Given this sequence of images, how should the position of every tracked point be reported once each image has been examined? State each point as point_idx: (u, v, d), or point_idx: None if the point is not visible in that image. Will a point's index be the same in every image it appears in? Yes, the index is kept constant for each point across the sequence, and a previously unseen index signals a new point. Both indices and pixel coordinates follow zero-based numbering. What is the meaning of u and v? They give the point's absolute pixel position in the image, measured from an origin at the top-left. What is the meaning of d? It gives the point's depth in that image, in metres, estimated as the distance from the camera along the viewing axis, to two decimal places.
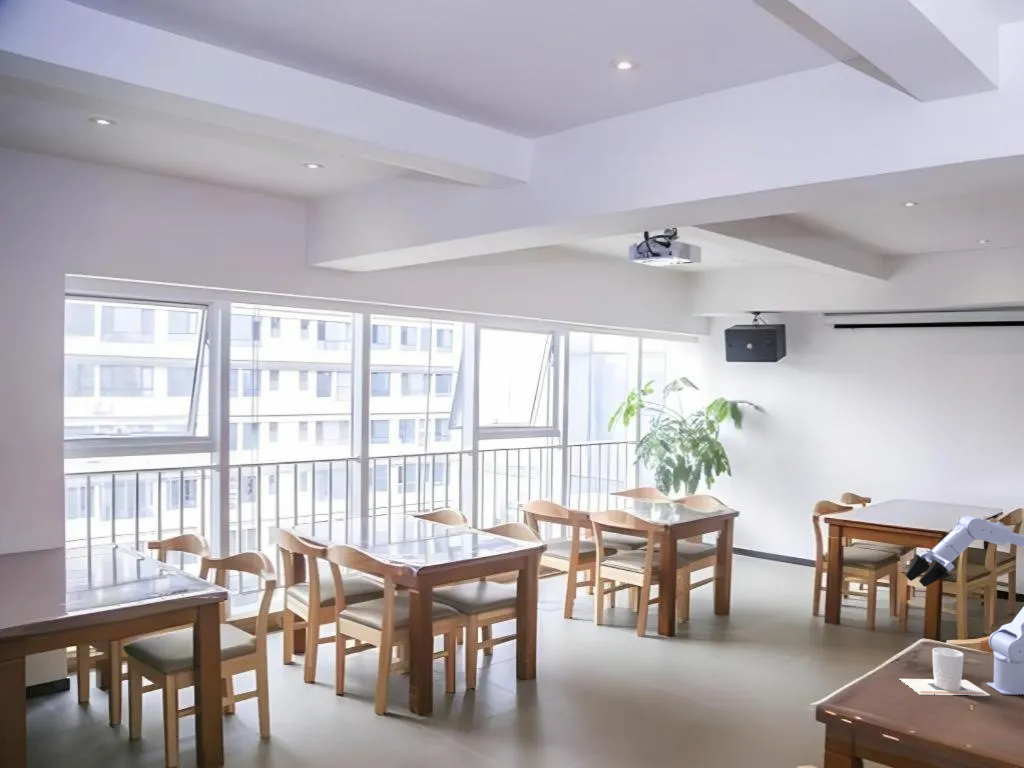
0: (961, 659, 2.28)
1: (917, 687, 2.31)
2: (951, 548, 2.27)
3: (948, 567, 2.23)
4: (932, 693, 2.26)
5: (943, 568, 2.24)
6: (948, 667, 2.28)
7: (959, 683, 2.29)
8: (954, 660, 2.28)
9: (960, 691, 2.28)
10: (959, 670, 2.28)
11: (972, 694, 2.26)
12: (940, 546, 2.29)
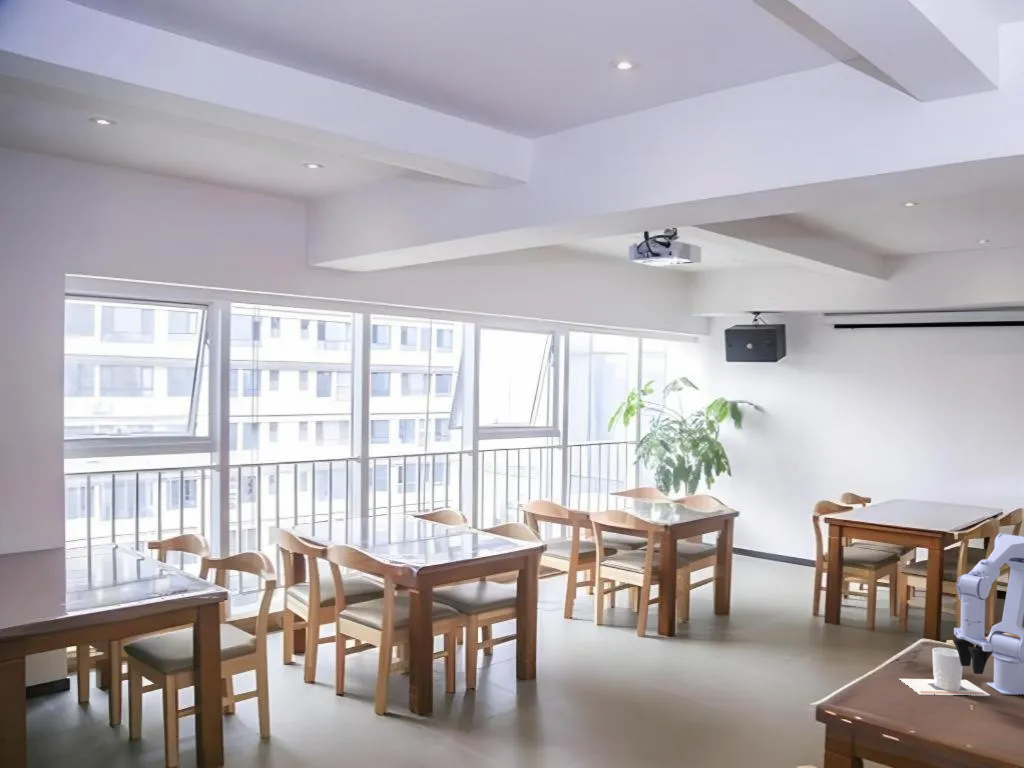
0: None
1: (917, 687, 2.31)
2: (974, 623, 2.17)
3: (987, 649, 2.12)
4: (932, 693, 2.26)
5: (982, 650, 2.14)
6: (948, 667, 2.28)
7: (959, 683, 2.29)
8: (954, 660, 2.28)
9: (960, 691, 2.28)
10: (959, 670, 2.28)
11: (972, 694, 2.26)
12: (964, 626, 2.19)
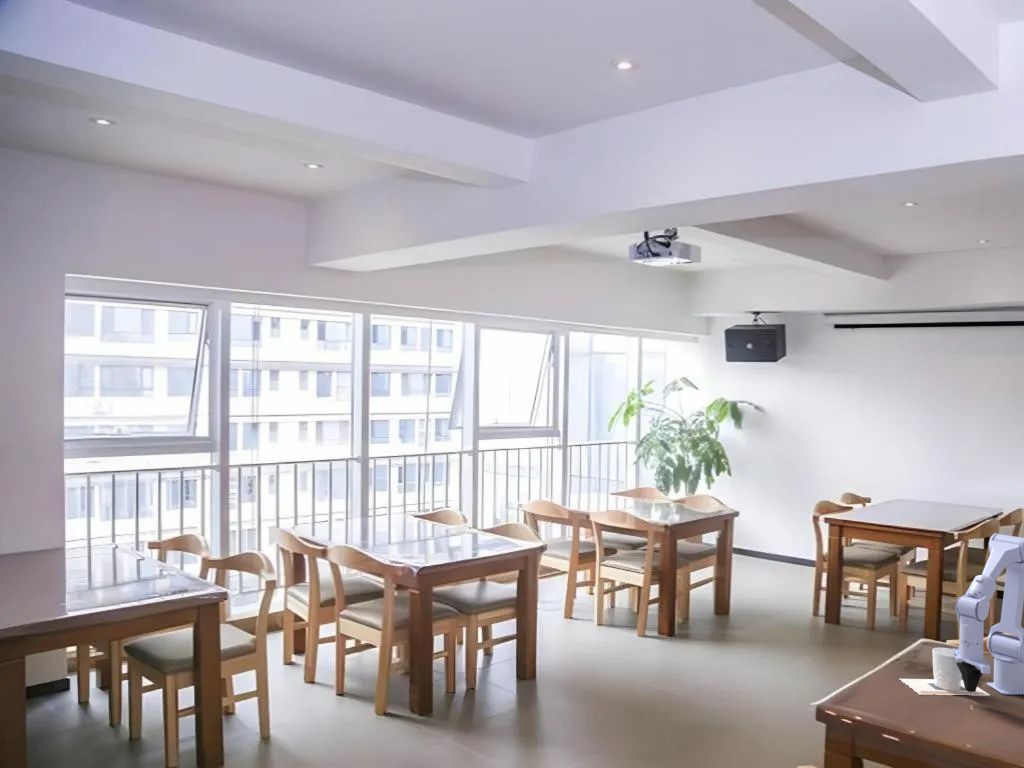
0: None
1: (917, 687, 2.31)
2: (973, 645, 2.17)
3: (986, 671, 2.13)
4: (932, 693, 2.26)
5: (975, 669, 2.17)
6: (948, 667, 2.28)
7: (959, 683, 2.29)
8: (954, 660, 2.28)
9: (960, 691, 2.28)
10: (959, 670, 2.28)
11: (972, 694, 2.26)
12: (963, 648, 2.19)
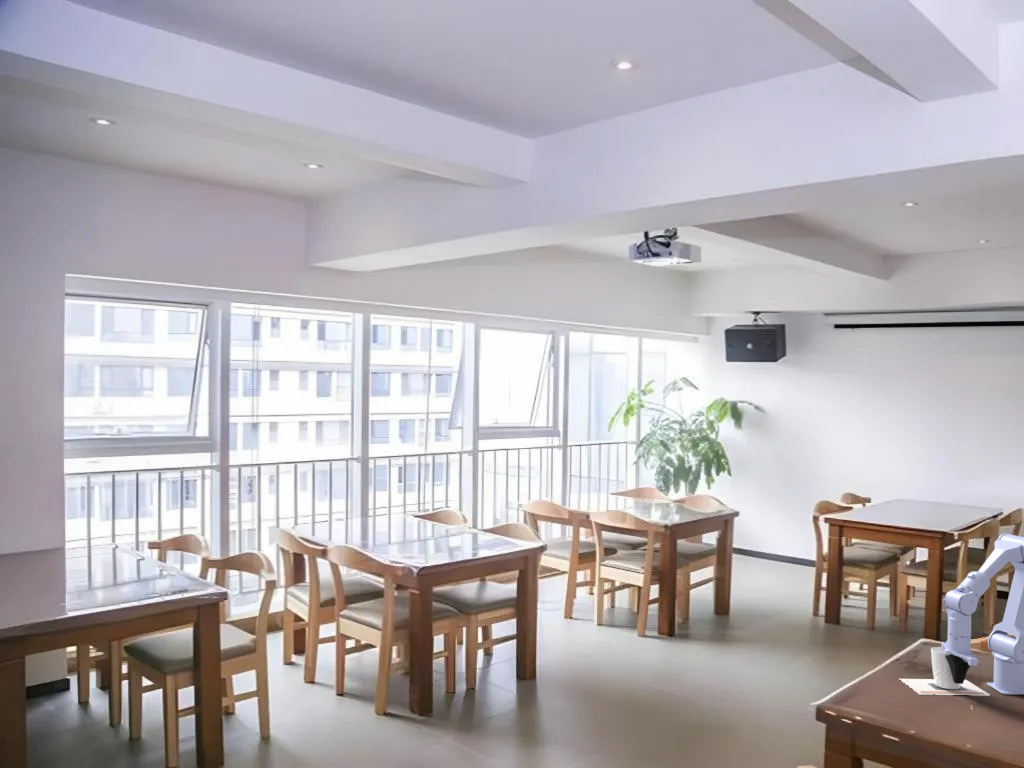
0: None
1: (917, 687, 2.31)
2: (961, 638, 2.23)
3: (973, 664, 2.18)
4: (932, 693, 2.26)
5: (963, 661, 2.23)
6: (947, 665, 2.29)
7: None
8: None
9: (960, 691, 2.28)
10: None
11: (972, 694, 2.26)
12: (951, 641, 2.25)
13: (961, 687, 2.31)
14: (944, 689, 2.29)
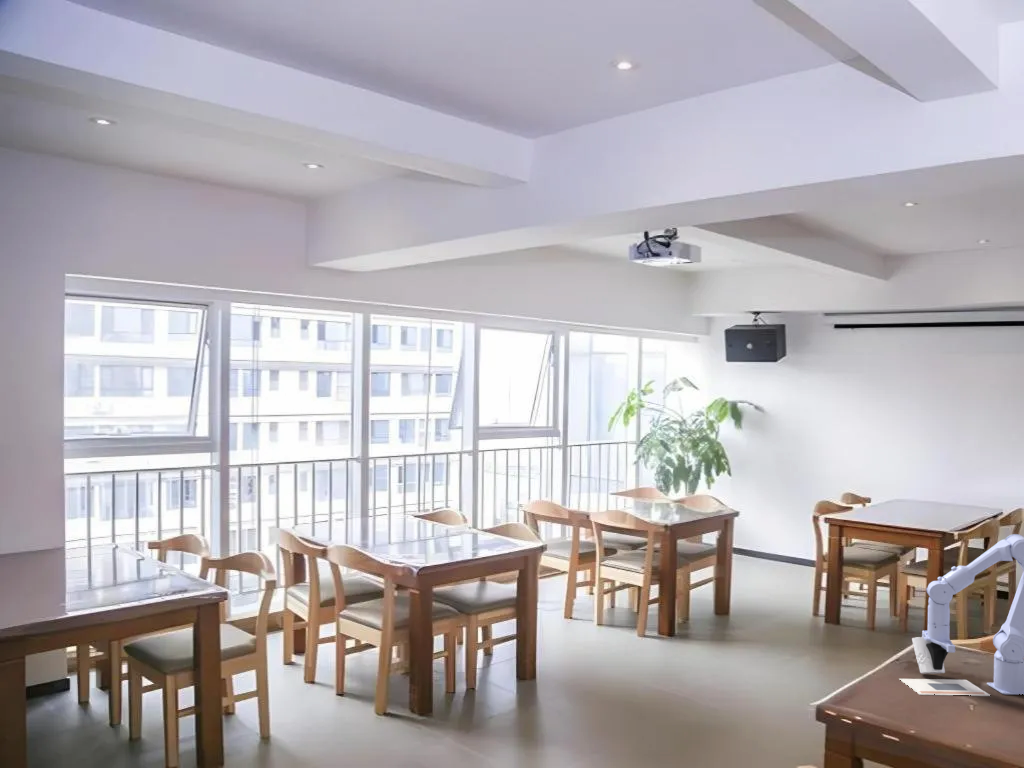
0: None
1: (917, 687, 2.31)
2: (940, 626, 2.34)
3: (951, 650, 2.29)
4: (932, 693, 2.26)
5: (941, 648, 2.34)
6: None
7: None
8: None
9: (960, 691, 2.28)
10: None
11: (972, 694, 2.26)
12: (931, 629, 2.36)
13: (961, 687, 2.31)
14: (944, 689, 2.29)
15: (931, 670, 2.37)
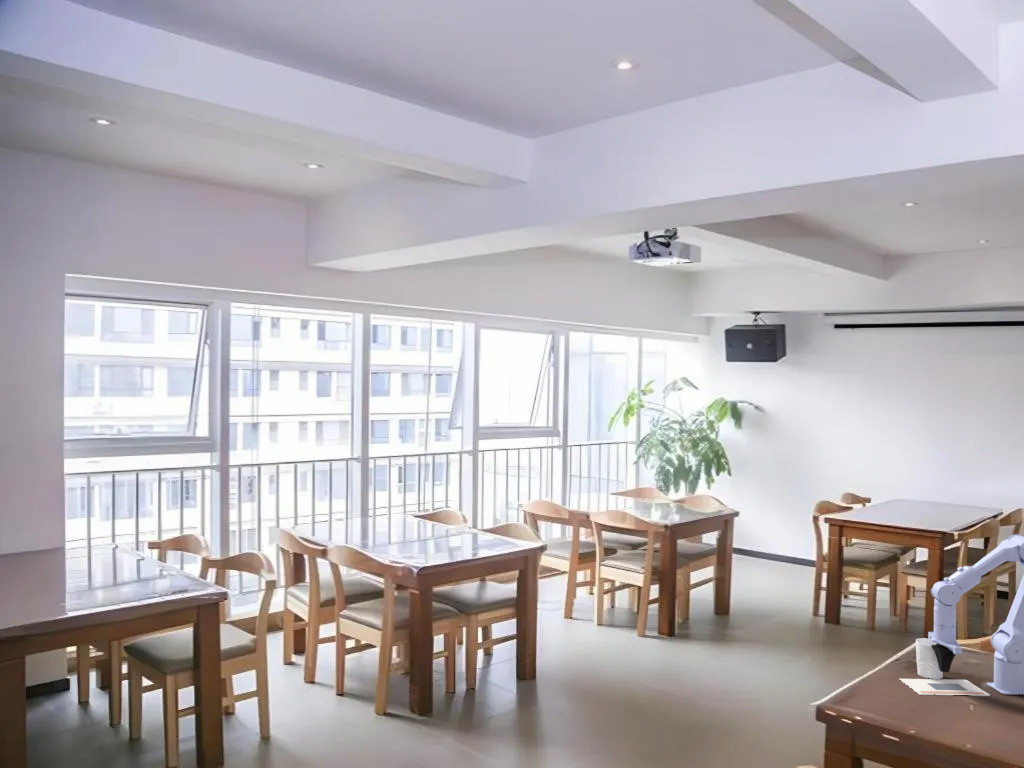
0: None
1: (917, 687, 2.31)
2: (946, 627, 2.31)
3: (958, 652, 2.26)
4: (932, 693, 2.26)
5: (948, 650, 2.31)
6: (930, 657, 2.38)
7: (941, 672, 2.38)
8: None
9: (960, 691, 2.28)
10: None
11: (972, 694, 2.26)
12: (937, 631, 2.32)
13: (961, 687, 2.31)
14: (944, 689, 2.29)
15: (929, 677, 2.38)
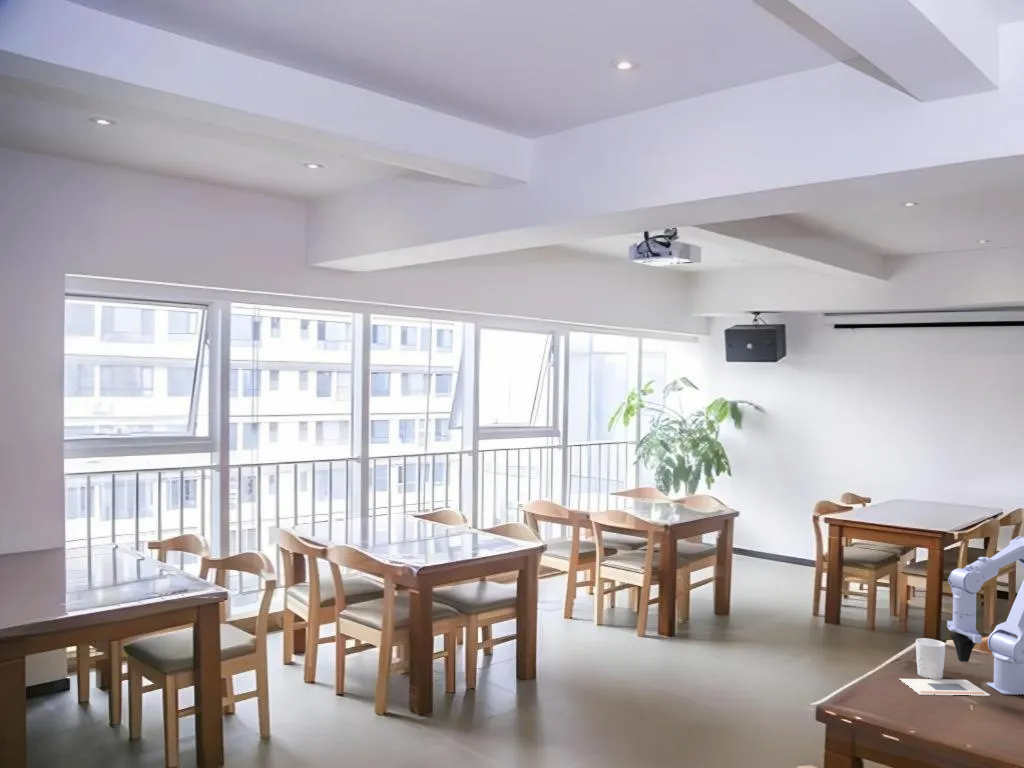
0: (943, 649, 2.38)
1: (917, 687, 2.31)
2: (965, 616, 2.24)
3: (978, 641, 2.19)
4: (932, 693, 2.26)
5: (968, 639, 2.24)
6: (930, 657, 2.38)
7: (941, 672, 2.38)
8: (936, 649, 2.37)
9: (960, 691, 2.28)
10: (941, 659, 2.38)
11: (972, 694, 2.26)
12: (956, 619, 2.26)
13: (961, 687, 2.31)
14: (944, 689, 2.29)
15: (929, 677, 2.38)
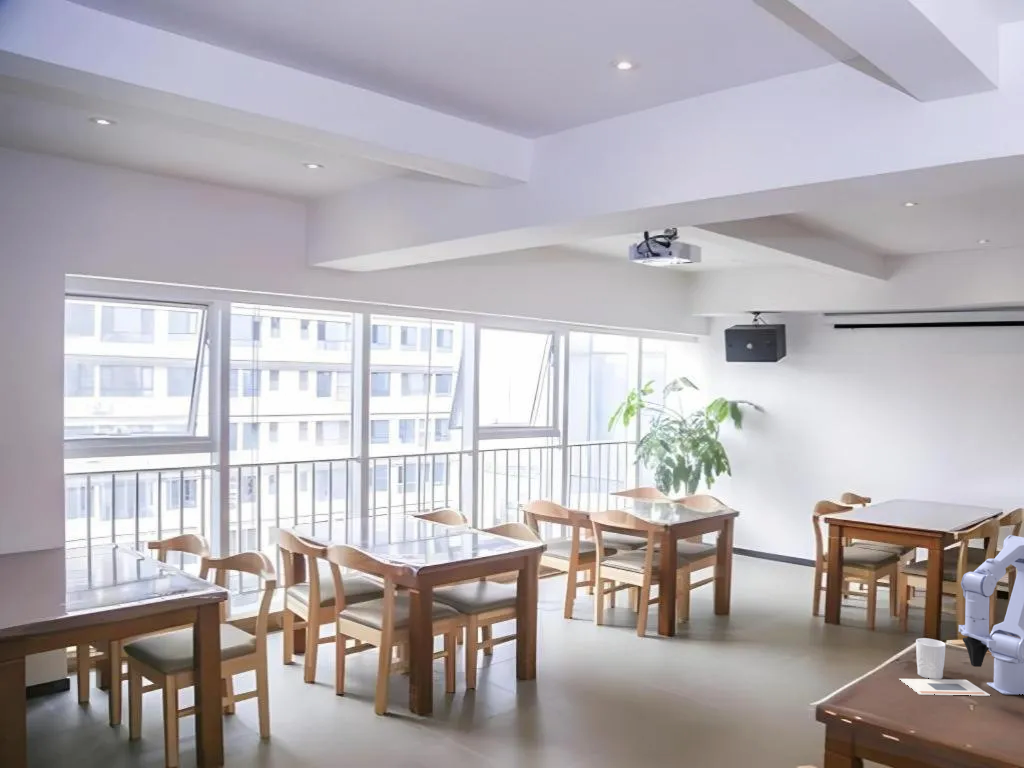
0: (943, 649, 2.38)
1: (917, 687, 2.31)
2: (979, 620, 2.20)
3: (992, 646, 2.15)
4: (932, 693, 2.26)
5: (981, 644, 2.20)
6: (930, 657, 2.38)
7: (941, 672, 2.38)
8: (937, 649, 2.37)
9: (960, 691, 2.28)
10: (941, 659, 2.38)
11: (972, 694, 2.26)
12: (969, 623, 2.22)
13: (961, 687, 2.31)
14: (944, 689, 2.29)
15: (929, 677, 2.38)
